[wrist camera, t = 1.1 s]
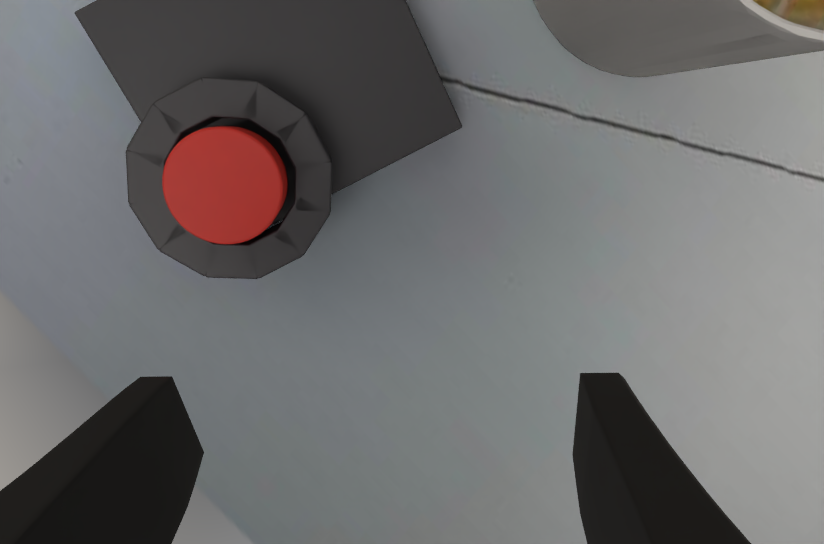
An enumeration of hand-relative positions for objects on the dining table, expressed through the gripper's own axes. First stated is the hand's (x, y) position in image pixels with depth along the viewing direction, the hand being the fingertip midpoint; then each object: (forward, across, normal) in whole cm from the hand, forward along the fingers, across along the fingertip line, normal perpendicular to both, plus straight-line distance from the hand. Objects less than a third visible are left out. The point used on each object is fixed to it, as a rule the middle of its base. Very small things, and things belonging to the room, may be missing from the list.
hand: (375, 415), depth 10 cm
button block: (+15, +5, -2) cm, 16 cm away
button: (+10, +6, 0) cm, 12 cm away
